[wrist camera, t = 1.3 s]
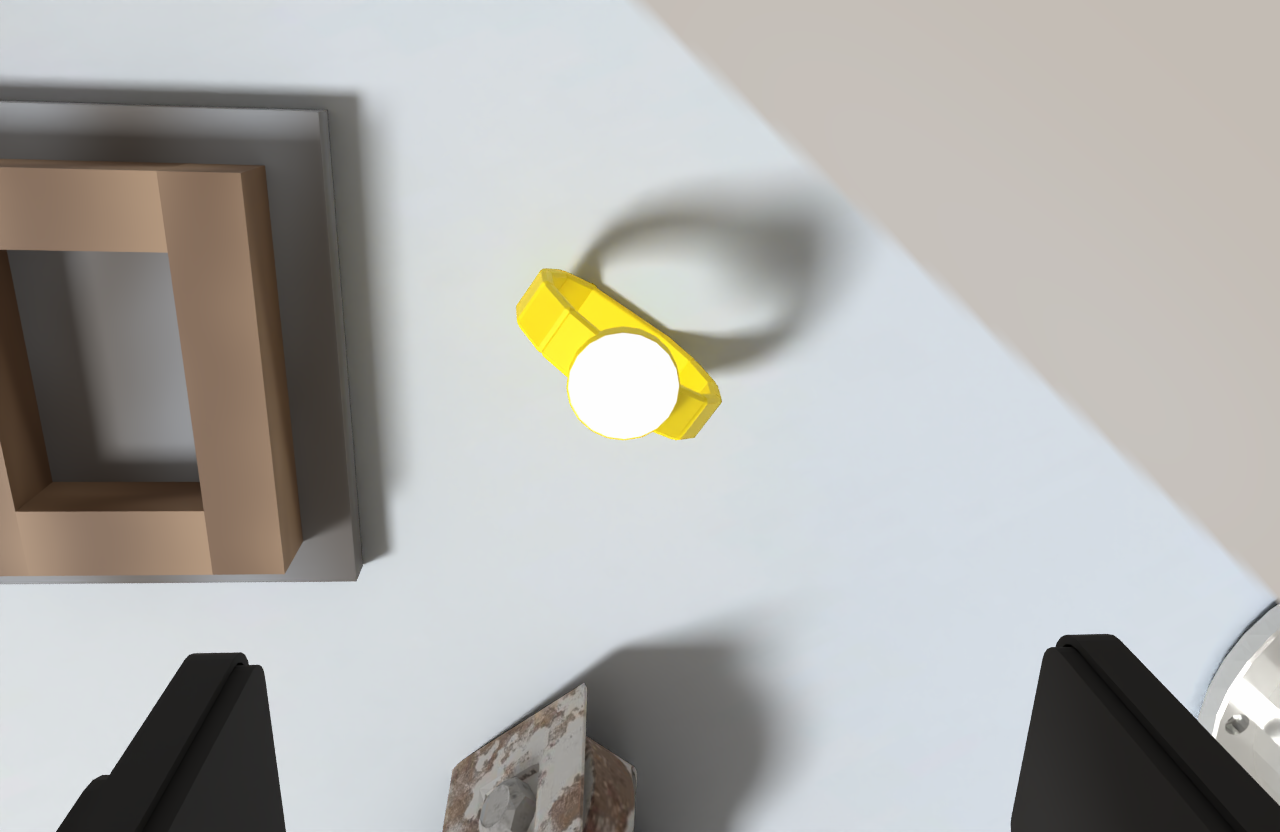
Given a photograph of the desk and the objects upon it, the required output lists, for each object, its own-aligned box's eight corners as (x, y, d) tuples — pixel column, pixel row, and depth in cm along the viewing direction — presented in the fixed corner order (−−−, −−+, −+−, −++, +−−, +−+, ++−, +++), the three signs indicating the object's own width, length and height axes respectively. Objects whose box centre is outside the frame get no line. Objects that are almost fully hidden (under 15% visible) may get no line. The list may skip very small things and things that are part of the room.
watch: (511, 309, 28) (482, 360, 23) (564, 233, 28) (546, 265, 22) (673, 420, 29) (683, 493, 24) (727, 349, 29) (750, 408, 23)
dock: (327, 110, 26) (297, 115, 23) (362, 565, 31) (341, 615, 28) (-141, 96, 25) (-232, 99, 22) (-29, 568, 30) (-91, 620, 27)
